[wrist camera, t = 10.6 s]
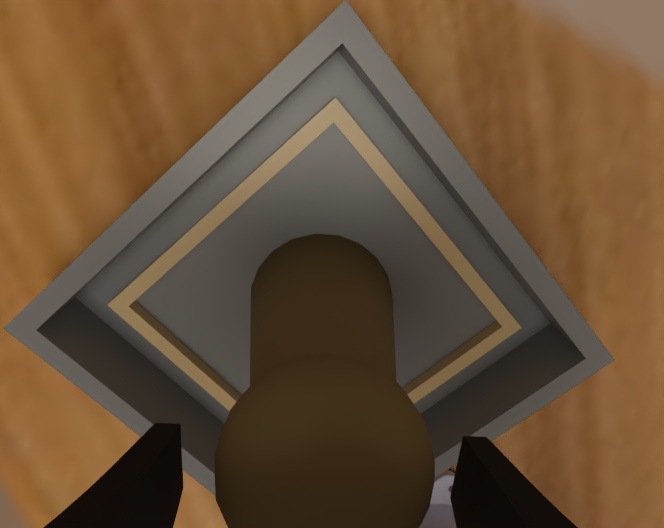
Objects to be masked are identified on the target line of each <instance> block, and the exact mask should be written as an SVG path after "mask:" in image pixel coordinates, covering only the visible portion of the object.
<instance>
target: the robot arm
mask: <svg viewBox="0 0 664 528" xmlns="http://www.w3.org/2000/svg"><path fill="white" fill-rule="evenodd" d="M452 485H453V486H452ZM450 486H452V487H450ZM182 490H183V471H182V447H181V424H174V423H155V424H154V425H153V426H151V427H150V428H149V430H148V431H147V432H146V433H145V434H144V435H143V436H142V437H141V438H140V439H139V440H138V441H137V442H136V443H135V444H134V445H133V446H132V447H131V448H130V449H129V450H128V451H127V452H126V453H125V454H124V455H123V456H122V457H121V458H120V459H119V460H118V461H117V462H116V463H115V464H114V465H113V466H112V467H111V468H110V469H109V470H108V471H107V472H106V473H105V474H104V475H103V476H102V477H101V478H100V479H99V480H97V481H96V482H95V483H94V484H93V485H92V486H91V487H90V488H89V489H88V490H87V491H86V492H85V493H83V494H82V495H81V496H80V497H79V498H78V499H77V500H75V501H74V502H73V503H72V504H71V505H70V506H69V507H67V508H66V509H65V510H64V511H63V512H62V513H61V514H60V515H58V516H57V517H56V518H55V519H54V520H52V521H51V522H50V523H49V524H47V525H46V526H45V527H44V528H173V525H174V521H175V518H176V514H177V510H178V506H179V502H180V498H181V494H182ZM419 528H578V527H576V526H575V525H574V524H573V523H572V522H571V521H570V520H569V519H568V518H566V517H565V516H564V515H563V514H562V513H561V512H560V511H559V510H558V509H557V508H556V507H555V506H554V505H553V504H552V503H551V502H550V501H549V500H547V499H546V498H545V497H544V496H543V495H542V494H541V493H540V492H539V491H538V490H537V489H536V488H535V487H534V486H533V485H532V484H531V483H530V482H529V481H528V480H527V479H526V478H525V477H524V475H523V474H522V473H521V472H520V471H519V470H518V469H517V468H516V467H515V466H514V465H513V464H512V463H511V462H510V461H509V460H508V459H507V458H506V457H505V456H504V455H503V454H502V453H501V452H500V451H499V449H498V448H497V447H496V446H495V445H494V444H493V443H492V442H491V441H490V440H489V439H488V438H487V437H476V436H463V438H462V443H461V448H460V452H459V457H458V462H457V467H456V472H455V474H454V473H453V472H452V471H448V470H446V471H445V472H443V473H442V474H440V475H439V476H437V477H436V478H435V481H434V486H433V491H432V497H431V502H430V507H429V509H428V511H427V513H426V515H425V518H424V520H423V522H422V524H421V525H420V527H419Z"/></svg>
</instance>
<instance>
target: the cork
mask: <svg viewBox="0 0 664 528" xmlns="http://www.w3.org/2000/svg"><path fill="white" fill-rule="evenodd" d="M214 454H215V494H216V501H217V503H218V506H219V508H220V510H221V513H222V515H223V517H224V519H225V522H226V524H227V526H228V528H419V527H420V525H421V524H422V522H423V520H424V518H425V515H426V513H427V511H428V509H429V507H430V502H431V497H432V491H433V486H434V481H435V460H434V456H433V451H432V446H431V442H430V437H429V433H428V430H427V427H426V425H425V422H424V419H423V417H422V416H421V414H420V413H419V411H418V410H417V408H416V407H415V405H414V404H413V402H412V401H411V399H410V398H409V396H408V395H407V393H406V392H405V391H404V390H403V389H402V387H401V386H400V385H399V384H398V383H397V379H396V358H395V338H394V317H393V297H392V291H391V287H390V282H389V277H388V275H387V273H386V271H385V270H384V268H383V266H382V265H381V263H380V262H379V260H378V258H377V257H376V256H375V255H373V254H372V253H371V252H370V251H368V250H367V249H366V248H365V247H363V246H362V245H361V244H360V243H357V242H355V241H352V240H350V239H347V238H344V237H342V236H339V235H329V234H311V235H307V236H303V237H299V238H295V239H291V240H290V241H288V242H287V243H285V244H283V245H282V246H280V247H278V248H277V249H275V250H273V251H272V252H271V253H270V255H269V256H268V257H267V258H266V259H265V261H264V262H263V263H262V264H261V265H260V267H259V268H258V270H257V273H256V276H255V278H254V281H253V283H252V286H251V320H250V387H249V388H248V389H247V390H246V391H245V392H244V393H243V394H242V395H241V396H240V398H239V399H238V400H237V402H236V403H235V404H234V406H233V407H232V408H231V410H230V412H229V414H228V417H227V419H226V422H225V424H224V427H223V429H222V432H221V434H220V437H219V440H218V444H217V447H216V450H215V453H214Z"/></svg>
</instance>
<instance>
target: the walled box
mask: <svg viewBox="0 0 664 528" xmlns="http://www.w3.org/2000/svg"><path fill="white" fill-rule="evenodd" d="M311 234H329V235H339V236H342V237H344V238H347V239H350V240H352V241H355V242H357V243H360V244H361V245H362V246H363V247H365V248H366V249H367V250H368V251H370V252H371V253H372V254H373V255H375V256H376V257H377V258H378V260H379V262H380V263H381V265H382V266H383V268H384V270H385V271H386V273H387V275H388V277H389V282H390V287H391V291H392V297H393V317H394V338H395V358H396V379H397V383H398V384H399V385H400V386H401V387H402V389H403V390H404V391H405V392H406V393H407V395H408V396H409V398H410V399H411V401H412V402H413V404H414V405H415V407H416V408H417V410H418V411H419V413H420V414H421V416H422V417H423V419H424V422H425V425H426V427H427V430H428V433H429V437H430V442H431V446H432V451H433V456H434V460H435V478H436V477H437V476H439V475H440V474H442V473H443V472H445V471H446V470H448V469H449V468H451V467H452V466H454V465H455V464H457V462H458V457H459V452H460V448H461V443H462V438H463V436H476V437H487V438H488V439H489V440H490V441H492V440H493V439H495V438H497V437H498V436H500V435H501V434H503V433H504V432H506V431H507V430H509V429H510V428H512V427H513V426H515V425H516V424H518V423H519V422H521V421H522V420H524V419H525V418H527V417H529V416H530V415H532V414H533V413H535V412H536V411H538V410H539V409H541V408H542V407H544V406H545V405H547V404H548V403H550V402H551V401H553V400H554V399H556V398H558V397H559V396H561V395H562V394H564V393H565V392H567V391H568V390H570V389H571V388H573V387H574V386H576V385H577V384H579V383H580V382H582V381H583V380H585V379H586V378H588V377H590V376H591V375H593V374H594V373H596V372H597V371H599V370H600V369H602V368H603V367H605V366H606V365H608V364H609V363H611V362H612V361H614V359H613V357H612V356H611V355H610V353H609V352H608V351H607V349H606V348H605V347H604V345H603V344H602V342H601V341H600V340H599V338H598V337H597V336H596V334H595V333H594V332H593V330H592V329H591V328H590V326H589V325H588V324H587V322H586V321H585V320H584V318H583V317H582V316H581V314H580V313H579V312H578V310H577V309H576V308H575V306H574V305H573V304H572V302H571V301H570V300H569V298H568V297H567V296H566V294H565V293H564V292H563V290H562V289H561V288H560V286H559V285H558V284H557V282H556V281H555V280H554V278H553V277H552V276H551V274H550V273H549V272H548V270H547V269H546V268H545V266H544V265H543V263H542V262H541V261H540V259H539V258H538V257H537V255H536V254H535V253H534V251H533V250H532V249H531V247H530V246H529V245H528V243H527V242H526V241H525V239H524V238H523V237H522V235H521V234H520V233H519V231H518V230H517V229H516V227H515V226H514V225H513V223H512V222H511V221H510V219H509V218H508V217H507V215H506V214H505V213H504V211H503V210H502V209H501V207H500V206H499V205H498V203H497V202H496V201H495V199H494V198H493V197H492V195H491V194H490V193H489V191H488V190H487V189H486V187H485V186H484V184H483V183H482V182H481V180H480V179H479V178H478V176H477V175H476V174H475V172H474V171H473V170H472V168H471V167H470V166H469V164H468V163H467V162H466V160H465V159H464V158H463V156H462V155H461V154H460V152H459V151H458V150H457V148H456V147H455V146H454V144H453V143H452V142H451V140H450V139H449V138H448V136H447V135H446V134H445V132H444V131H443V130H442V128H441V127H440V126H439V124H438V123H437V122H436V120H435V119H434V118H433V116H432V115H431V114H430V112H429V111H428V110H427V108H426V107H425V105H424V104H423V103H422V101H421V100H420V99H419V97H418V96H417V95H416V93H415V92H414V91H413V89H412V88H411V87H410V85H409V84H408V83H407V81H406V80H405V79H404V77H403V76H402V75H401V73H400V72H399V71H398V69H397V68H396V67H395V65H394V64H393V63H392V61H391V60H390V59H389V57H388V56H387V55H386V53H385V52H384V51H383V49H382V48H381V47H380V45H379V44H378V43H377V41H376V40H375V39H374V37H373V36H372V35H371V33H370V32H369V30H368V29H367V28H366V26H365V25H364V24H363V22H362V21H361V20H360V18H359V17H358V16H357V14H356V13H355V12H354V10H353V9H352V8H351V6H350V5H349V4H348V2H347V1H346V0H345V1H344V2H343V3H342V4H341V5H340V6H339V7H338V8H337V9H336V10H335V11H334V12H332V13H331V14H330V15H329V16H328V17H327V18H326V19H325V20H324V21H323V22H322V23H321V24H320V25H319V26H318V27H317V28H316V29H315V30H314V31H313V32H312V33H311V34H310V35H309V36H307V37H306V38H305V39H304V40H303V41H302V42H301V43H300V44H299V45H298V46H297V47H296V48H295V49H294V50H293V51H292V52H291V53H290V54H289V55H288V56H287V57H286V58H285V59H284V60H282V61H281V62H280V63H279V64H278V65H277V66H276V67H275V68H274V69H273V70H272V71H271V72H270V73H269V74H268V75H267V76H266V77H265V78H264V79H263V80H262V81H261V82H260V83H259V84H257V85H256V86H255V87H254V88H253V89H252V90H251V91H250V92H249V93H248V94H247V95H246V96H245V97H244V98H243V99H242V100H241V101H240V102H239V103H238V104H237V105H236V106H235V107H234V108H233V109H231V110H230V111H229V112H228V113H227V114H226V115H225V116H224V117H223V118H222V119H221V120H220V121H219V122H218V123H217V124H216V125H215V126H214V127H213V128H212V129H211V130H210V131H209V132H208V133H206V134H205V135H204V136H203V137H202V138H201V139H200V140H199V141H198V142H197V143H196V144H195V145H194V146H193V147H192V148H191V149H190V150H189V151H188V152H187V153H186V154H185V155H184V156H183V157H181V158H180V159H179V160H178V161H177V162H176V163H175V164H174V165H173V166H172V167H171V168H170V169H169V170H168V171H167V172H166V173H165V174H164V175H163V176H162V177H161V178H160V179H159V180H158V181H156V182H155V183H154V184H153V185H152V186H151V187H150V188H149V189H148V190H147V191H146V192H145V193H144V194H143V195H142V196H141V197H140V198H139V199H138V200H137V201H136V202H135V203H134V204H133V205H131V206H130V207H129V208H128V209H127V210H126V211H125V212H124V213H123V214H122V215H121V216H120V217H119V218H118V219H117V220H116V221H115V222H114V223H113V224H112V225H111V226H110V227H109V228H108V229H107V230H105V231H104V232H103V233H102V234H101V235H100V236H99V237H98V238H97V239H96V240H95V241H94V242H93V243H92V244H91V245H90V246H89V247H88V248H87V249H86V250H85V251H84V252H83V253H82V254H80V255H79V256H78V257H77V258H76V259H75V260H74V261H73V262H72V263H71V264H70V265H69V266H68V267H67V268H66V269H65V270H64V271H63V272H62V273H61V274H60V275H59V276H58V277H57V278H55V279H54V280H53V281H52V282H51V283H50V284H49V285H48V286H47V287H46V288H45V289H44V290H43V291H42V292H41V293H40V294H39V295H38V296H37V297H36V298H35V299H34V300H33V301H32V302H30V303H29V304H28V305H27V306H26V307H25V308H24V309H23V310H22V311H21V312H20V313H19V314H18V315H17V316H16V317H15V318H14V319H13V320H12V321H11V322H10V323H9V324H8V325H7V326H6V327H4V328H3V329H5V330H6V331H7V332H9V333H10V334H11V335H12V336H14V337H15V338H16V339H17V340H19V341H20V342H21V343H23V344H24V345H25V346H26V347H28V348H29V349H30V350H31V351H33V352H34V353H35V354H36V355H38V356H39V357H40V358H42V359H43V360H44V361H45V362H47V363H48V364H49V365H50V366H52V367H53V368H54V369H56V370H57V371H58V372H59V373H61V374H62V375H63V376H64V377H66V378H67V379H68V380H69V381H71V382H72V383H73V384H75V385H76V386H77V387H78V388H80V389H81V390H82V391H83V392H85V393H86V394H87V395H89V396H90V397H91V398H92V399H94V400H95V401H96V402H97V403H99V404H100V405H101V406H102V407H104V408H105V409H106V410H108V411H109V412H110V413H111V414H113V415H114V416H115V417H116V418H118V419H119V420H120V421H122V422H123V423H124V424H125V425H127V426H128V427H129V428H130V429H132V430H133V431H134V432H135V433H137V434H138V435H139V436H141V437H142V436H143V435H144V434H145V433H146V432H147V431H148V430H149V428H150V427H151V426H153V425H154V424H155V423H174V424H181V447H182V470H184V471H185V472H186V473H188V474H189V475H190V476H191V477H193V478H194V479H195V480H196V481H198V482H199V483H200V484H201V485H203V486H204V487H205V488H207V489H208V490H209V491H210V492H212V493H213V494H214V495H215V496H216V494H215V454H214V453H215V450H216V447H217V444H218V440H219V437H220V434H221V432H222V429H223V427H224V424H225V422H226V419H227V417H228V414H229V412H230V410H231V408H232V407H233V406H234V404H235V403H236V402H237V400H238V399H239V398H240V396H241V395H242V394H243V393H244V392H245V391H246V390H247V389H248V388H249V387H250V320H251V286H252V283H253V281H254V278H255V276H256V273H257V270H258V268H259V267H260V265H261V264H262V263H263V262H264V261H265V259H266V258H267V257H268V256H269V255H270V253H271V252H272V251H273V250H275V249H277V248H278V247H280V246H282V245H283V244H285V243H287V242H288V241H290V240H291V239H295V238H299V237H303V236H307V235H311Z"/></svg>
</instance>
